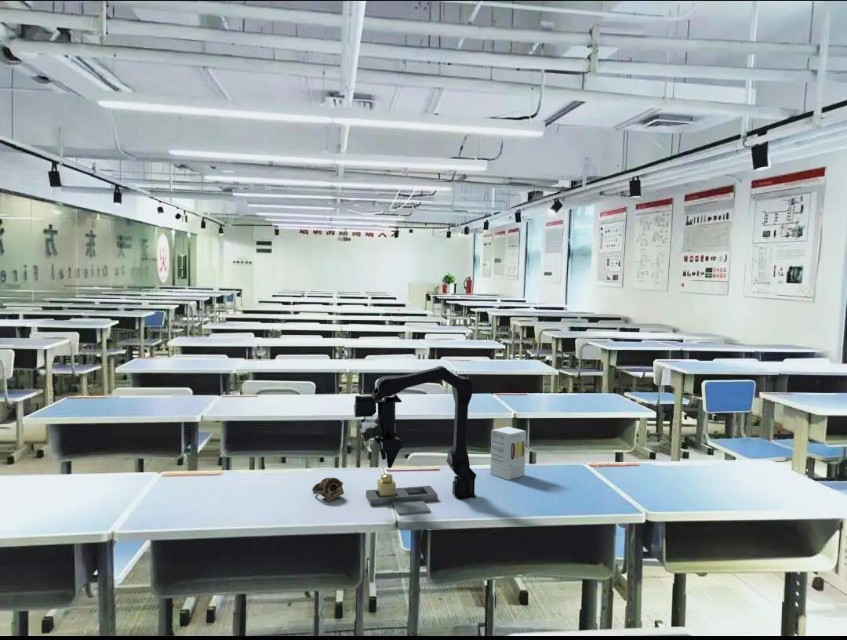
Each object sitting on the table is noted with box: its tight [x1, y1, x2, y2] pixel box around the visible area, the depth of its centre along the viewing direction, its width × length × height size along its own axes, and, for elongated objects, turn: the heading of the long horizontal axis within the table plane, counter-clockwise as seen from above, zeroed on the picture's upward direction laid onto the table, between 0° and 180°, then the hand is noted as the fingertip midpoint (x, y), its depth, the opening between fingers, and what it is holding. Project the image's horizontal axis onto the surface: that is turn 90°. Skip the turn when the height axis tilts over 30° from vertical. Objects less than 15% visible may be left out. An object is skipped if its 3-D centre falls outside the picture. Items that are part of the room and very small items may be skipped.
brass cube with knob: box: [377, 473, 397, 498], centre depth 204 cm, size 5×5×8 cm
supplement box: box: [489, 426, 527, 481], centre depth 232 cm, size 10×9×17 cm
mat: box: [391, 500, 432, 516], centre depth 197 cm, size 10×10×1 cm
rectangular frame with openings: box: [365, 485, 439, 507], centre depth 206 cm, size 22×9×2 cm, turn 105°
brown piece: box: [311, 477, 345, 502], centre depth 207 cm, size 7×13×10 cm
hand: (386, 463), depth 203 cm, fingers open, 9 cm apart
